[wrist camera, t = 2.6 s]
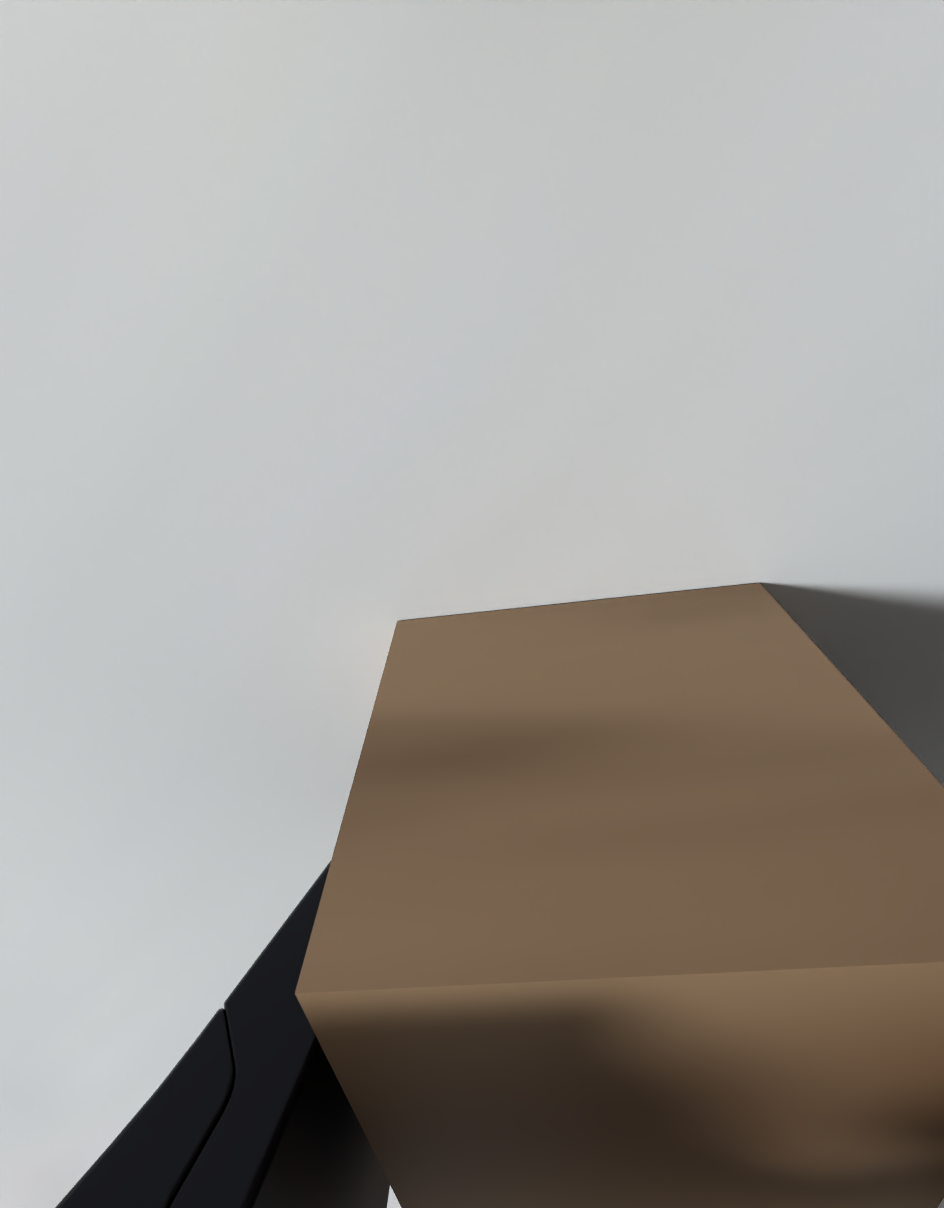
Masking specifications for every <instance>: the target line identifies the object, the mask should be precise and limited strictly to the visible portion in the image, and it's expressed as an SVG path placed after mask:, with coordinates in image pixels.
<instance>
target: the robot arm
mask: <svg viewBox="0 0 944 1208" xmlns="http://www.w3.org/2000/svg"><path fill="white" fill-rule="evenodd" d="M330 864H331V861H330V863H329V864H328V865H327V867H326V868H325V869H324V871H323V872H322V873H321V875H320V876H319V877H318V879H317V880H316V881H315V883H314V884H313V885H312V887H311V888H310V889H309V891H308V892H307V893H306V895H305V896H304V897H303V899H302V900H301V901H300V903H299V904H298V905H297V907H296V908H295V909H294V911H293V912H292V913H291V915H290V916H289V917H288V919H287V920H286V921H285V923H284V924H283V925H282V926H281V928H280V929H279V930H278V932H277V933H276V934H275V936H274V937H273V938H272V940H271V941H270V942H269V944H268V945H267V946H266V948H265V949H264V950H263V952H262V953H261V954H260V956H259V957H258V958H257V960H256V961H255V962H254V964H253V965H252V966H251V968H250V969H249V970H248V972H247V973H246V974H245V976H244V977H243V978H242V980H241V981H240V982H239V984H238V985H237V986H236V988H235V989H234V990H233V992H232V993H231V994H230V996H229V997H228V998H227V1000H226V1001H225V1003H224V1008H225V1009H223V1008H222V1009H219V1010H218V1011H217V1013H216V1014H215V1015H214V1017H213V1018H212V1019H211V1021H210V1022H209V1023H208V1025H207V1026H206V1027H205V1028H204V1030H203V1031H202V1032H201V1034H200V1035H199V1036H198V1038H197V1039H196V1040H195V1042H194V1043H193V1044H192V1046H191V1047H190V1048H189V1049H188V1051H187V1052H186V1053H185V1054H184V1056H183V1057H182V1058H181V1060H180V1061H179V1062H178V1063H177V1065H176V1066H175V1067H174V1068H173V1070H172V1071H171V1072H170V1074H169V1075H168V1076H167V1077H166V1079H165V1080H164V1081H163V1083H162V1084H161V1085H160V1086H159V1088H158V1089H157V1090H156V1091H155V1092H154V1094H153V1095H152V1096H151V1097H150V1098H149V1100H148V1101H147V1102H146V1103H145V1104H144V1105H143V1107H142V1108H141V1109H140V1110H139V1111H138V1113H137V1114H136V1115H135V1116H134V1117H133V1119H132V1120H131V1121H130V1122H129V1123H128V1124H127V1126H126V1127H125V1128H124V1129H123V1130H122V1132H121V1133H120V1134H119V1135H118V1136H117V1137H116V1139H115V1140H114V1141H113V1142H112V1143H111V1145H110V1146H109V1147H108V1148H107V1149H106V1150H105V1151H104V1153H103V1154H102V1155H101V1156H100V1157H99V1158H98V1159H97V1161H96V1162H95V1163H94V1164H93V1165H92V1166H91V1167H90V1169H89V1170H88V1171H87V1172H86V1173H85V1174H84V1175H83V1177H82V1178H81V1179H80V1180H79V1181H78V1182H77V1183H76V1185H75V1186H74V1187H73V1188H72V1189H71V1190H70V1191H69V1193H68V1194H67V1195H66V1196H65V1197H64V1198H63V1199H62V1201H61V1202H60V1203H59V1204H58V1205H57V1206H56V1208H387V1202H388V1195H389V1187H390V1183H389V1181H388V1179H387V1177H386V1175H385V1173H384V1171H383V1169H382V1167H381V1165H380V1163H379V1161H378V1159H377V1157H376V1155H375V1153H374V1151H373V1149H372V1147H371V1145H370V1143H369V1141H368V1139H367V1137H366V1135H365V1133H364V1131H363V1129H362V1127H361V1125H360V1123H359V1121H358V1119H357V1117H356V1115H355V1113H354V1111H353V1109H352V1107H351V1105H350V1103H349V1101H348V1099H347V1097H346V1095H345V1093H344V1091H343V1089H342V1087H341V1085H340V1083H339V1081H338V1079H337V1077H336V1075H335V1073H334V1071H333V1069H332V1067H331V1065H330V1063H329V1061H328V1059H327V1057H326V1055H325V1053H324V1051H323V1049H322V1047H321V1045H320V1043H319V1041H318V1039H317V1037H316V1035H315V1033H314V1031H313V1029H312V1027H311V1025H310V1023H309V1021H308V1019H307V1017H306V1015H305V1013H304V1011H303V1009H302V1007H301V1005H300V1003H299V1001H298V999H297V997H296V995H295V991H296V987H297V984H298V980H299V976H300V973H301V969H302V965H303V962H304V958H305V955H306V951H307V947H308V944H309V940H310V936H311V933H312V929H313V925H314V922H315V918H316V915H317V911H318V907H319V904H320V900H321V896H322V893H323V889H324V886H325V882H326V878H327V875H328V871H329V867H330Z"/></svg>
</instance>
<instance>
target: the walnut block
mask: <svg viewBox="0 0 944 1208" xmlns="http://www.w3.org/2000/svg"><path fill="white" fill-rule="evenodd" d="M295 995H296V997H297V999H298V1001H299V1003H300V1005H301V1007H302V1009H303V1011H304V1013H305V1015H306V1017H307V1019H308V1021H309V1023H310V1025H311V1027H312V1029H313V1031H314V1033H315V1035H316V1037H317V1039H318V1041H319V1043H320V1045H321V1047H322V1049H323V1051H324V1053H325V1055H326V1057H327V1059H328V1061H329V1063H330V1065H331V1067H332V1069H333V1071H334V1073H335V1075H336V1077H337V1079H338V1081H339V1083H340V1085H341V1087H342V1089H343V1091H344V1093H345V1095H346V1097H347V1099H348V1101H349V1103H350V1105H351V1107H352V1109H353V1111H354V1113H355V1115H356V1117H357V1119H358V1121H359V1123H360V1125H361V1127H362V1129H363V1131H364V1133H365V1135H366V1137H367V1139H368V1141H369V1143H370V1145H371V1147H372V1149H373V1151H374V1153H375V1155H376V1157H377V1159H378V1161H379V1163H380V1165H381V1167H382V1169H383V1171H384V1173H385V1175H386V1177H387V1179H388V1181H389V1183H390V1185H391V1187H392V1189H393V1191H394V1193H395V1195H396V1197H397V1199H398V1201H399V1203H400V1205H401V1207H402V1208H937V1207H938V1206H939V1204H940V1202H941V1201H942V1199H943V1198H944V787H943V786H942V785H941V783H940V782H939V781H938V780H937V779H936V778H935V777H934V776H933V775H932V773H931V772H930V771H929V770H928V769H927V768H926V767H925V766H924V765H923V763H922V762H921V761H920V760H919V759H918V758H917V757H916V756H915V755H914V754H913V752H912V751H911V750H910V749H909V748H908V747H907V746H906V745H905V744H904V742H903V741H902V740H901V739H900V738H899V737H898V736H897V735H896V734H895V732H894V731H893V730H892V729H891V728H890V727H889V726H888V725H887V724H886V722H885V721H884V720H883V719H882V718H881V717H880V716H879V715H878V714H877V712H876V711H875V710H874V709H873V708H872V707H871V706H870V705H869V704H868V702H867V701H866V700H865V699H864V698H863V697H862V696H861V695H860V694H859V692H858V691H857V690H856V689H855V688H854V687H853V686H852V685H851V684H850V683H849V681H848V680H847V679H846V678H845V677H844V676H843V675H842V674H841V673H840V671H839V670H838V669H837V668H836V667H835V666H834V665H833V664H832V663H831V661H830V660H829V659H828V658H827V657H826V656H825V655H824V654H823V653H822V651H821V650H820V649H819V648H818V647H817V646H816V645H815V644H814V643H813V641H812V640H811V639H810V638H809V637H808V636H807V635H806V634H805V633H804V631H803V630H802V629H801V628H800V627H799V626H798V625H797V624H796V623H795V621H794V620H793V619H792V618H791V617H790V616H789V615H788V614H787V613H786V611H785V610H784V609H783V608H782V607H781V606H780V605H779V604H778V603H777V602H776V600H775V599H774V598H773V597H772V596H771V595H770V594H769V593H768V592H767V590H766V589H765V588H764V587H763V586H762V585H761V584H760V583H754V584H744V585H735V586H725V587H716V588H706V589H697V590H687V591H678V592H668V593H659V594H649V595H640V596H630V597H621V598H612V599H602V600H593V601H583V602H574V603H564V604H555V605H545V606H536V607H526V608H517V609H507V610H498V611H488V612H479V613H469V614H460V615H450V616H441V617H431V618H422V619H412V620H403V621H397V624H396V628H395V631H394V635H393V639H392V642H391V646H390V650H389V653H388V657H387V661H386V664H385V668H384V671H383V675H382V679H381V682H380V686H379V690H378V693H377V697H376V700H375V704H374V708H373V711H372V715H371V719H370V722H369V726H368V729H367V733H366V737H365V740H364V744H363V748H362V751H361V755H360V759H359V762H358V766H357V769H356V773H355V777H354V780H353V784H352V788H351V791H350V795H349V798H348V802H347V806H346V809H345V813H344V817H343V820H342V824H341V827H340V831H339V835H338V838H337V842H336V846H335V849H334V853H333V857H332V860H331V864H330V867H329V871H328V875H327V878H326V882H325V886H324V889H323V893H322V896H321V900H320V904H319V907H318V911H317V915H316V918H315V922H314V925H313V929H312V933H311V936H310V940H309V944H308V947H307V951H306V955H305V958H304V962H303V965H302V969H301V973H300V976H299V980H298V984H297V987H296V991H295Z"/></svg>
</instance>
